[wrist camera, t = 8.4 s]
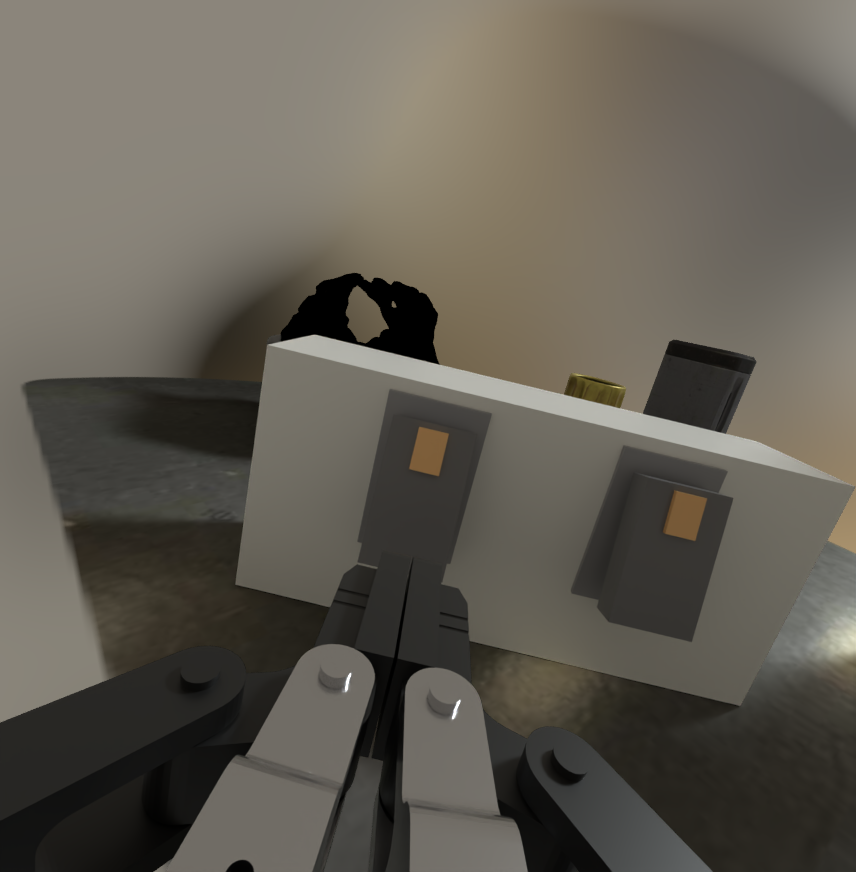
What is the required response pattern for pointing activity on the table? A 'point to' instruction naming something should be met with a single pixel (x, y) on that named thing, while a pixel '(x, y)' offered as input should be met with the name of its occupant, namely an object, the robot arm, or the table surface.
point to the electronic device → (699, 385)
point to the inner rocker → (663, 556)
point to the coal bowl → (405, 322)
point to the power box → (528, 510)
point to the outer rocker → (418, 492)
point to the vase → (595, 390)
